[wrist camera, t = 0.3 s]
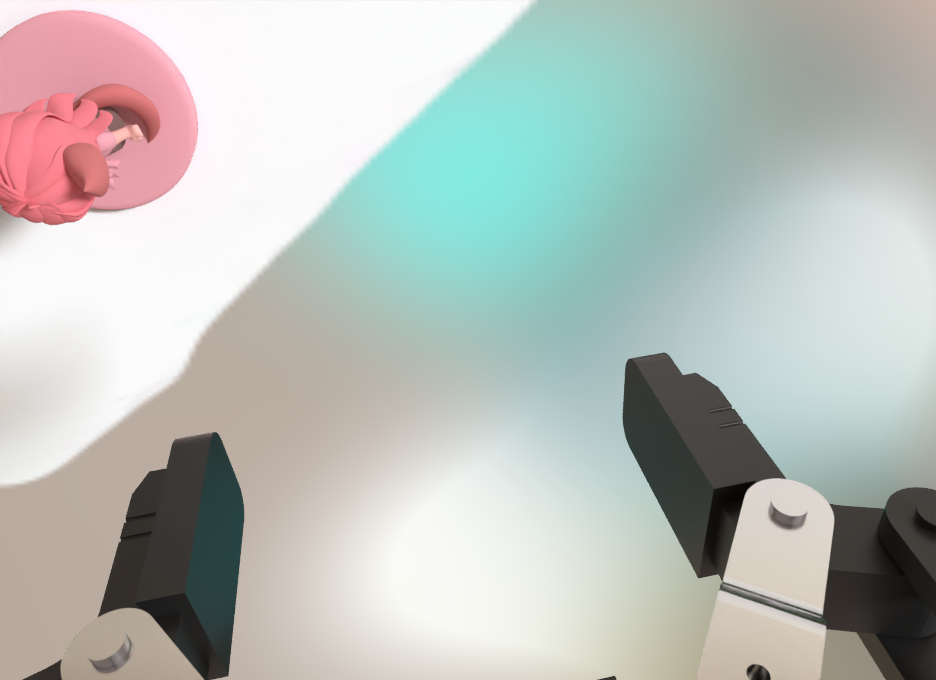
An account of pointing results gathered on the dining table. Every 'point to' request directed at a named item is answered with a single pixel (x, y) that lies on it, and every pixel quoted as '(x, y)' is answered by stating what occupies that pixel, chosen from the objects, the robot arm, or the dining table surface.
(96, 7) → the dining table surface
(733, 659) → the robot arm
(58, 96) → the toy figure
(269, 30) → the dining table surface
